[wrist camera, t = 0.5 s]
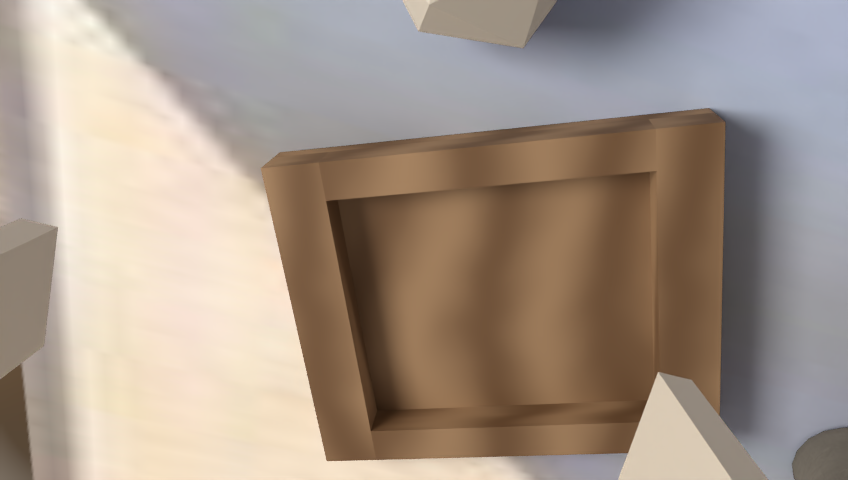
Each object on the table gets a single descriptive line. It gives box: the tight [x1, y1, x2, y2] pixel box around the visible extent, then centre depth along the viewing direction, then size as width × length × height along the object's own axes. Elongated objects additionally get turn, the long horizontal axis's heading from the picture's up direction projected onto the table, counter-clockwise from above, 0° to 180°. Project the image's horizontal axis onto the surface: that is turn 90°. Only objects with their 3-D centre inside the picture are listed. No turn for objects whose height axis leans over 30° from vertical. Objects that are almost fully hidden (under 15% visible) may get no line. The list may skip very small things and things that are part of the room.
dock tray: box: [261, 108, 725, 461], centre depth 38 cm, size 22×18×3 cm
